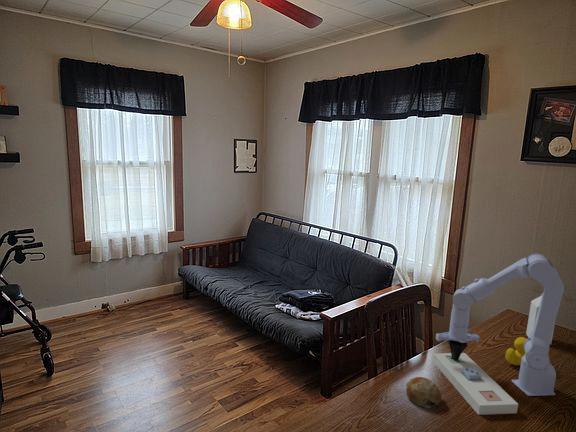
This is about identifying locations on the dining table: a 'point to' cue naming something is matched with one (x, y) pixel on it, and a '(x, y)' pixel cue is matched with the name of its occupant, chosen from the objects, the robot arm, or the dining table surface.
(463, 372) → the button three
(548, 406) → the dining table surface
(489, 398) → the button one
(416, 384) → the bread roll
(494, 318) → the dining table surface
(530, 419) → the dining table surface
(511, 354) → the duckling
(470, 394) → the button panel
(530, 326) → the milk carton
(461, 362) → the button two
